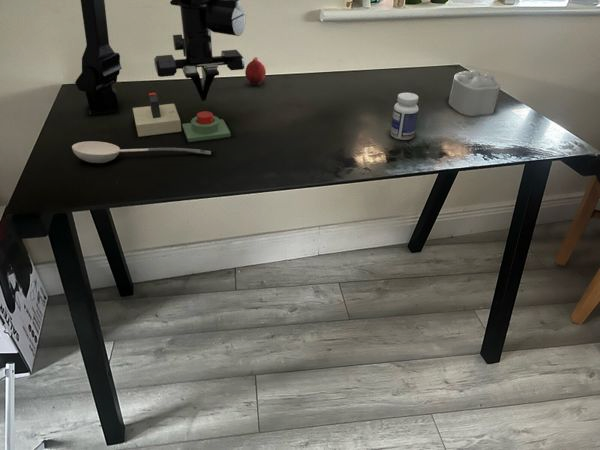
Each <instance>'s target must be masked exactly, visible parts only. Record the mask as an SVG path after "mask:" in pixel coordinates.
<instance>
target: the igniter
mask: <svg viewBox="0 0 600 450" xmlns="http://www.w3.org/2000/svg"><path fill="white" fill-rule="evenodd" d="M181 128H182V130H183V133H184V135H185V137H186V140H187V142H188V143H191V142H192V143H193V142H200V141H207V140H216V139H224V138H230V137H232V134H231V131H230V130H229V127H228V126H227V124H226V122H225V120H224V119H223V118H221V119H220V118H219V116H216V115H214V114H213V123H210V124H205V125H204V124H199V123H198V121H197V115H196V116H194V117H193V118H192V119H191V120H190V122H187V123H181Z"/></svg>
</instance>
